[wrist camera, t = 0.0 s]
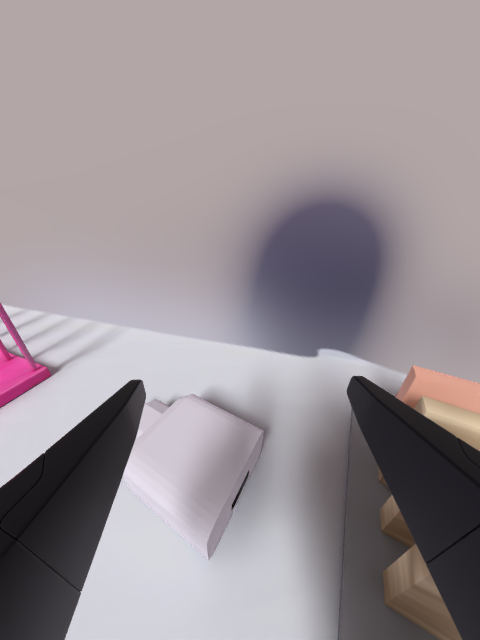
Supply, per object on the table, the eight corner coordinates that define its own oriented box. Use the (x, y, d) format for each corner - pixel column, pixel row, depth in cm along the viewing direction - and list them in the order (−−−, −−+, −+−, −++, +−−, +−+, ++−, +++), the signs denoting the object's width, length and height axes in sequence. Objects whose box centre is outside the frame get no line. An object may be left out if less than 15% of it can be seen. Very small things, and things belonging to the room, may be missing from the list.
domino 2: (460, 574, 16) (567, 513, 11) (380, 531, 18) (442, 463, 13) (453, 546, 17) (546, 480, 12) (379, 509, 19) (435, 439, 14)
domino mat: (658, 1058, 7) (677, 1073, 7) (331, 751, 11) (334, 753, 10) (439, 420, 28) (442, 417, 27) (353, 391, 31) (354, 388, 31)
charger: (159, 396, 30) (261, 454, 23) (90, 457, 22) (209, 564, 16) (154, 369, 27) (265, 426, 21) (74, 428, 20) (207, 540, 14)
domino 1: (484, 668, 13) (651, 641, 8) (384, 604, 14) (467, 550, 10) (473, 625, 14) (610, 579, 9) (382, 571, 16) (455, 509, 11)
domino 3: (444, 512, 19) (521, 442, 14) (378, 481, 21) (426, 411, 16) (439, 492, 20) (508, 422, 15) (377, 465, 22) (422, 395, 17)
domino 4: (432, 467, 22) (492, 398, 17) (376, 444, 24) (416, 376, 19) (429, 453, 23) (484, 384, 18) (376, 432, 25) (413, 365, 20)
